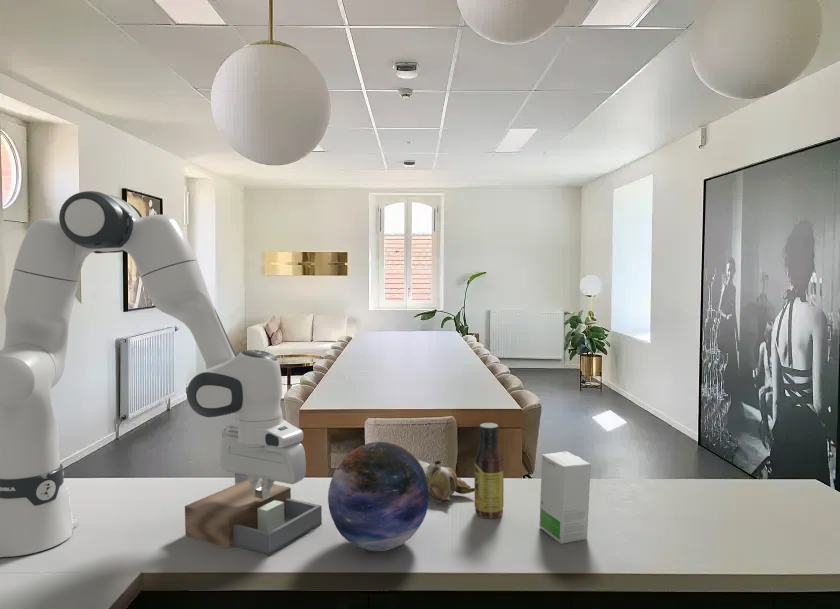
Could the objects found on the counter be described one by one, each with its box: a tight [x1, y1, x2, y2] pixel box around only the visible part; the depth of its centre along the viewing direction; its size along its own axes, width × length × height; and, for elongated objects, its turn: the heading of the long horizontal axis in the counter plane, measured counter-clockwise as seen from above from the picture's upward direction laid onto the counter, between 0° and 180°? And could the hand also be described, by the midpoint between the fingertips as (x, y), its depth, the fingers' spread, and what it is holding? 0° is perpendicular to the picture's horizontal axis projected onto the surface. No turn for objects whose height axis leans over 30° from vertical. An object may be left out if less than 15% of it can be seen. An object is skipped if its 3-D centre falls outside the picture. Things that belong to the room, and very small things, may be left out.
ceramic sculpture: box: [416, 459, 475, 504], centre depth 146 cm, size 11×9×15 cm
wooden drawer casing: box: [184, 480, 292, 549], centre depth 130 cm, size 12×18×6 cm, turn 152°
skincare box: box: [539, 450, 591, 545], centre depth 125 cm, size 8×7×16 cm
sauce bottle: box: [473, 422, 504, 519], centre depth 134 cm, size 7×6×20 cm
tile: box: [257, 500, 284, 532], centre depth 126 cm, size 5×5×2 cm
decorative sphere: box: [327, 441, 430, 552], centre depth 119 cm, size 19×20×20 cm
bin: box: [233, 498, 323, 557], centre depth 125 cm, size 9×16×4 cm, turn 152°
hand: (261, 497), depth 127 cm, fingers closed
